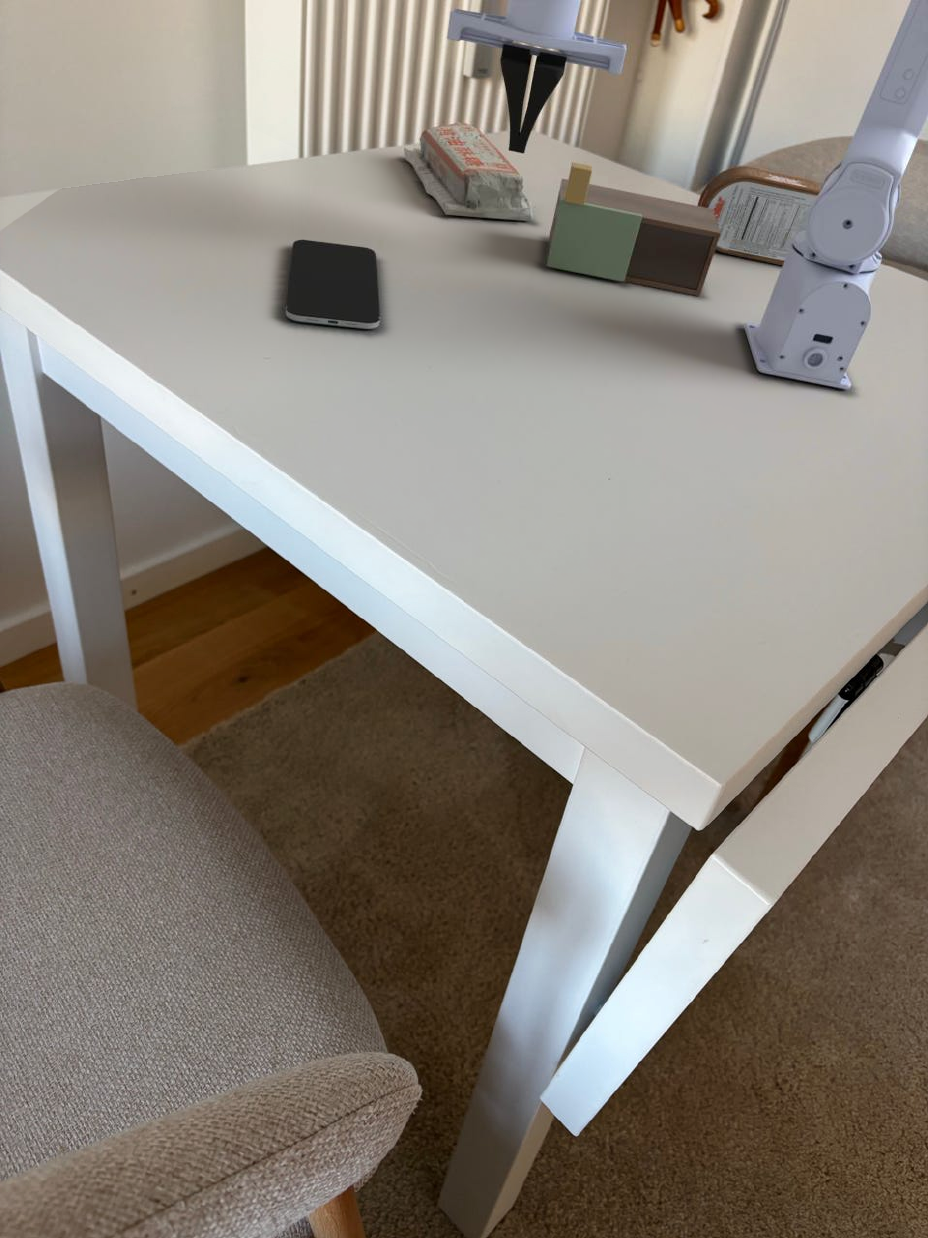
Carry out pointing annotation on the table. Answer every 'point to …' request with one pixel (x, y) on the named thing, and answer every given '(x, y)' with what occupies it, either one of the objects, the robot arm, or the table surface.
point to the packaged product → (469, 174)
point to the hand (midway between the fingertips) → (516, 148)
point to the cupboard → (661, 238)
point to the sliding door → (591, 232)
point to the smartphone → (333, 285)
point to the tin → (758, 211)
